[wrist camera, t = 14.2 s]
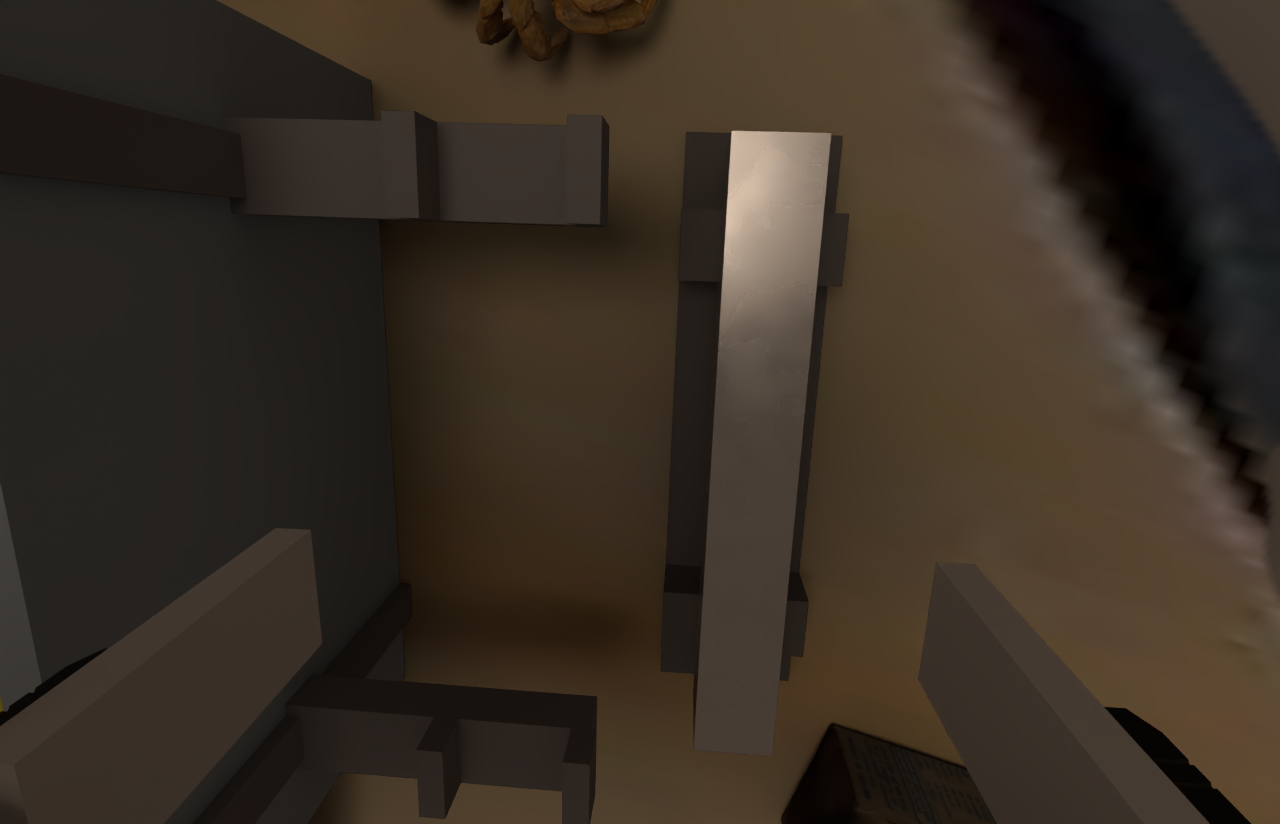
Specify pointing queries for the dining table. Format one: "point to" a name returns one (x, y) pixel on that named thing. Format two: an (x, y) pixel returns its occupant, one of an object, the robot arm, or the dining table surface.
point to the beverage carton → (882, 786)
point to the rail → (756, 430)
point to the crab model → (579, 3)
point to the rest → (695, 396)
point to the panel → (240, 375)
